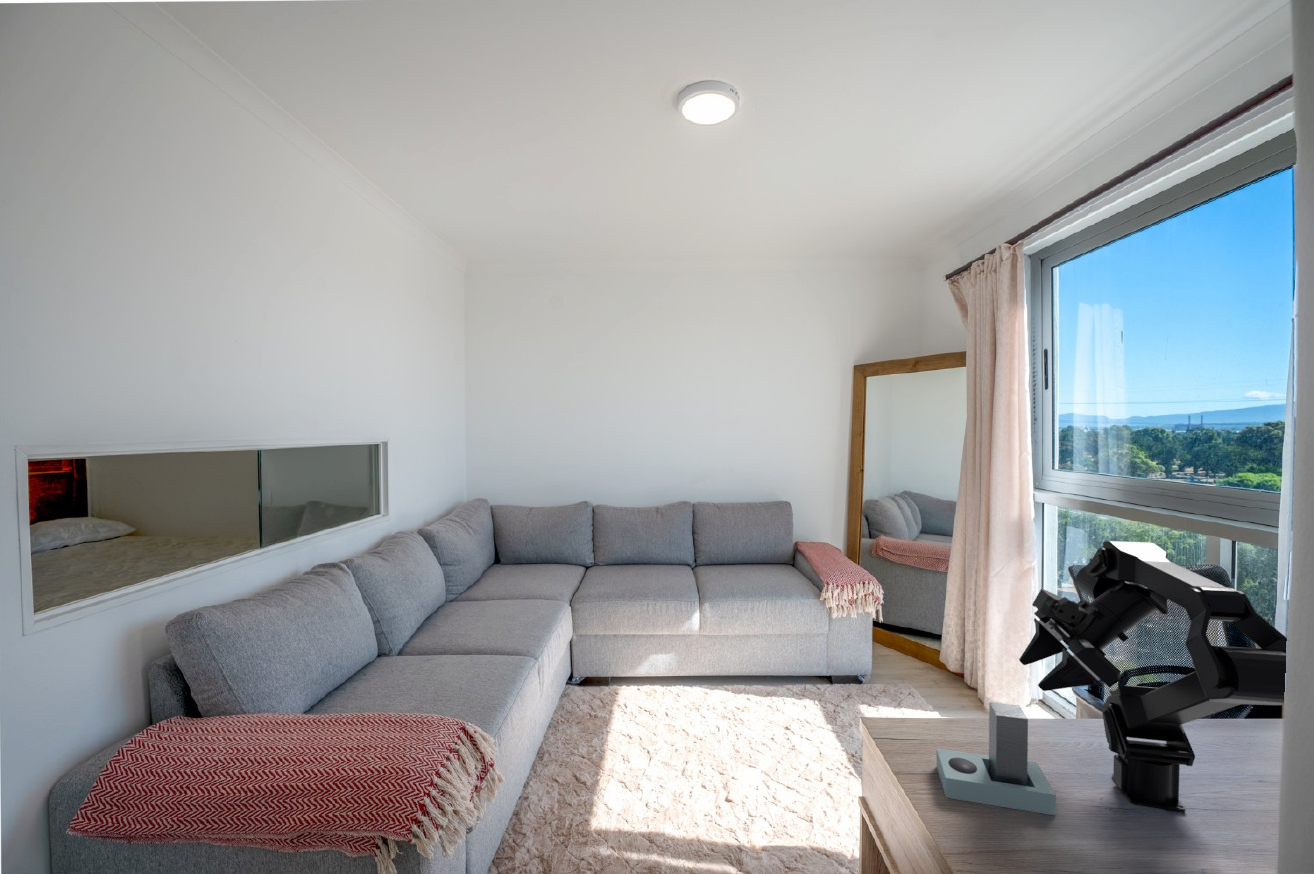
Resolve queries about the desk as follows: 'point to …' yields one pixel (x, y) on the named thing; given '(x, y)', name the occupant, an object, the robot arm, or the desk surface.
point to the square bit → (1008, 744)
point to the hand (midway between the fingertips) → (1030, 674)
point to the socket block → (992, 783)
